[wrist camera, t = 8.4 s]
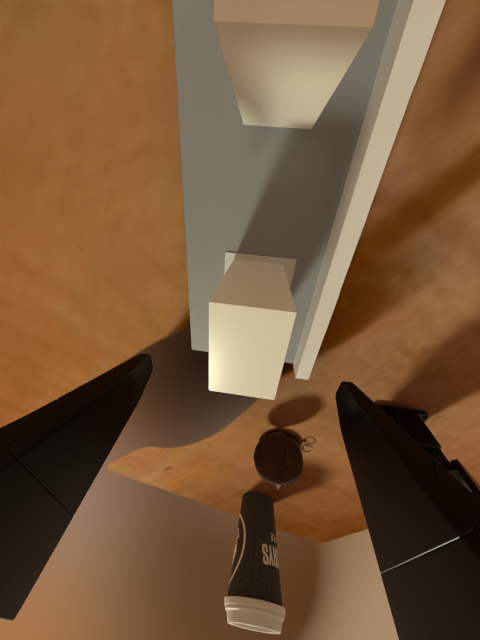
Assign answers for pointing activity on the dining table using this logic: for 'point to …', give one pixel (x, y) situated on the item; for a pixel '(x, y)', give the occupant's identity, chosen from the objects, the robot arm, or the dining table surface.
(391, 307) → the dining table surface
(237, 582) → the coffee cup
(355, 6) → the faced carton
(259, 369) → the carton
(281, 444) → the compass
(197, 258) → the shelf board
